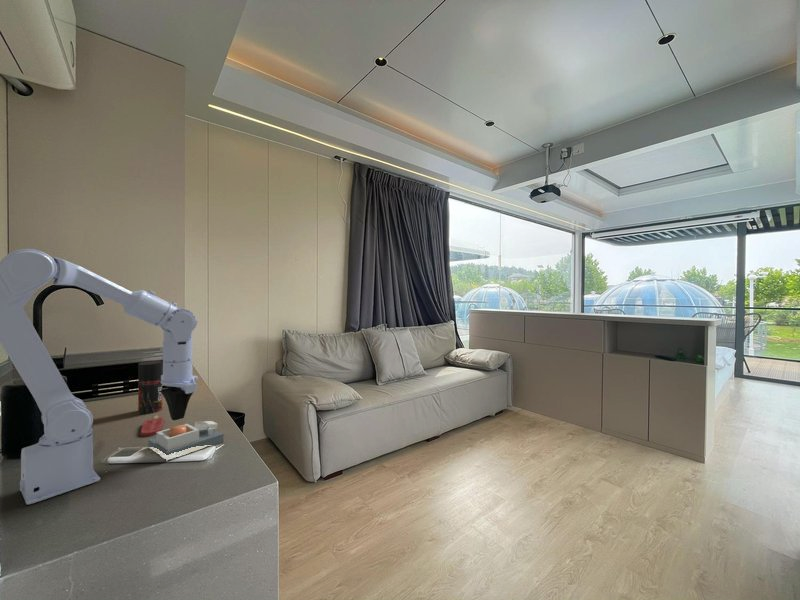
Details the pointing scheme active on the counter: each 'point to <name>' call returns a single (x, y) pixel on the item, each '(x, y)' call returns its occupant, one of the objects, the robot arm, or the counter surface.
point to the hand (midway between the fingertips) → (177, 418)
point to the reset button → (177, 430)
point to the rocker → (205, 425)
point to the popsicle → (152, 426)
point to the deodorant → (149, 387)
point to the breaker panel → (185, 439)
